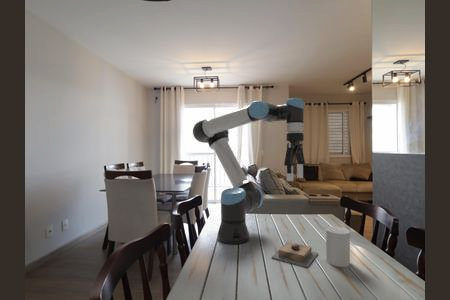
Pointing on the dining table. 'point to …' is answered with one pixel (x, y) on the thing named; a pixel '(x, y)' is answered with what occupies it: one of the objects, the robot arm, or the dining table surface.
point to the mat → (304, 264)
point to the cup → (338, 246)
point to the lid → (295, 251)
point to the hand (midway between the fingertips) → (295, 179)
